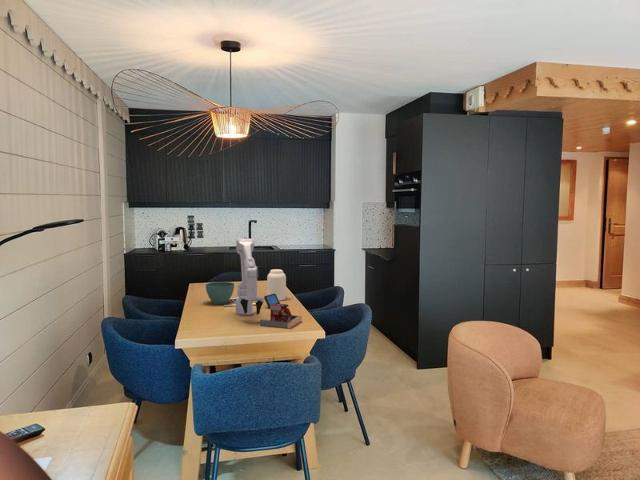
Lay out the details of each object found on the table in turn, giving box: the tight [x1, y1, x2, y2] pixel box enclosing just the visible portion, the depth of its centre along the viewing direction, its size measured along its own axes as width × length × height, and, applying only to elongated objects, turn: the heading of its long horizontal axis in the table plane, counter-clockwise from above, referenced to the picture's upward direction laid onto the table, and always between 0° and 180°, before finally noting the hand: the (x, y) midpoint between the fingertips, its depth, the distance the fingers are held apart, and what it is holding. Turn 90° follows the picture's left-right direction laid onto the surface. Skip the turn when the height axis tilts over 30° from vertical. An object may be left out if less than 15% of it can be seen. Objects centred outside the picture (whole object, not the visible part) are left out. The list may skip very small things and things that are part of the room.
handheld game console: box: [263, 294, 289, 310], centre depth 300 cm, size 12×11×7 cm
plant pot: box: [205, 281, 235, 305], centre depth 310 cm, size 18×18×12 cm
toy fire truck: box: [269, 304, 293, 322], centre depth 259 cm, size 7×12×10 cm, turn 71°
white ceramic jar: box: [266, 268, 287, 302], centre depth 323 cm, size 12×12×20 cm
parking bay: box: [259, 314, 303, 329], centre depth 259 cm, size 18×16×3 cm
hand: (251, 313), depth 265 cm, fingers open, 7 cm apart
